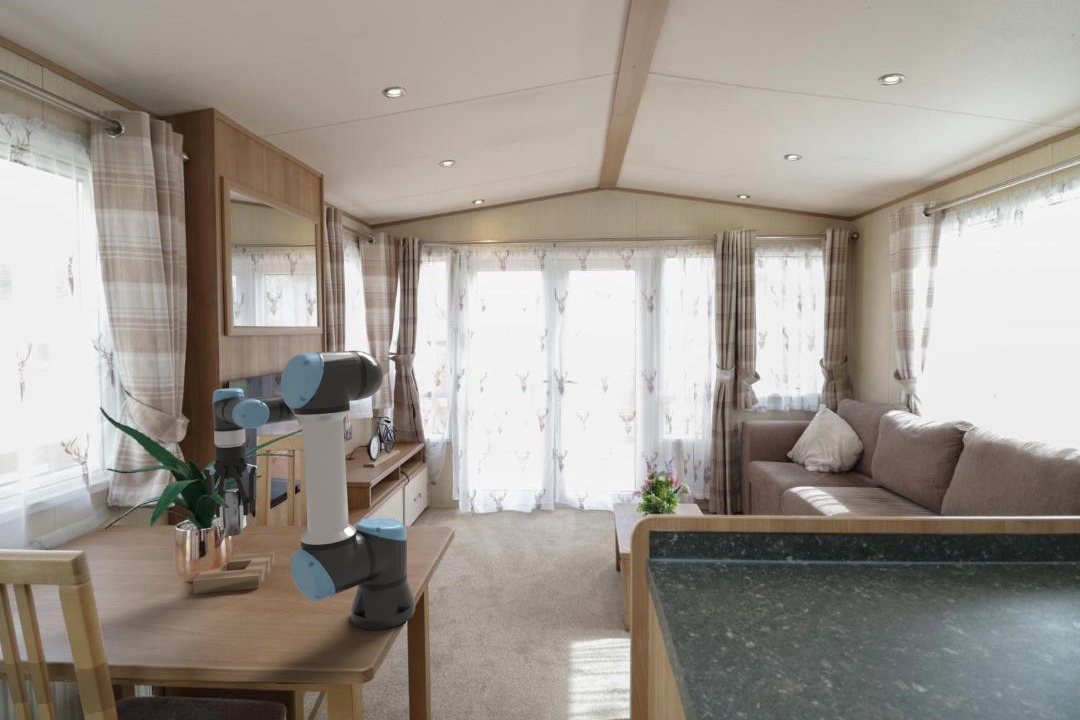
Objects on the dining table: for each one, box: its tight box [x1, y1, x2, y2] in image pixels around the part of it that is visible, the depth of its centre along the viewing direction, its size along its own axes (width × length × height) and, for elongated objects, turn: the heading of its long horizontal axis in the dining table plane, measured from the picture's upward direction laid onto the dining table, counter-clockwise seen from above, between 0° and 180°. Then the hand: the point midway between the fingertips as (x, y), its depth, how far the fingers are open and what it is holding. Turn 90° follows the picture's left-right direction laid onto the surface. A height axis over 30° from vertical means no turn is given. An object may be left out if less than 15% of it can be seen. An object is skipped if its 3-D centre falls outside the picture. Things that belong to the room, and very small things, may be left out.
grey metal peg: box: [223, 488, 244, 537], centre depth 157 cm, size 4×4×12 cm
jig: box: [192, 551, 276, 595], centre depth 158 cm, size 16×16×4 cm
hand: (233, 527), depth 157 cm, fingers closed on grey metal peg, 4 cm apart
